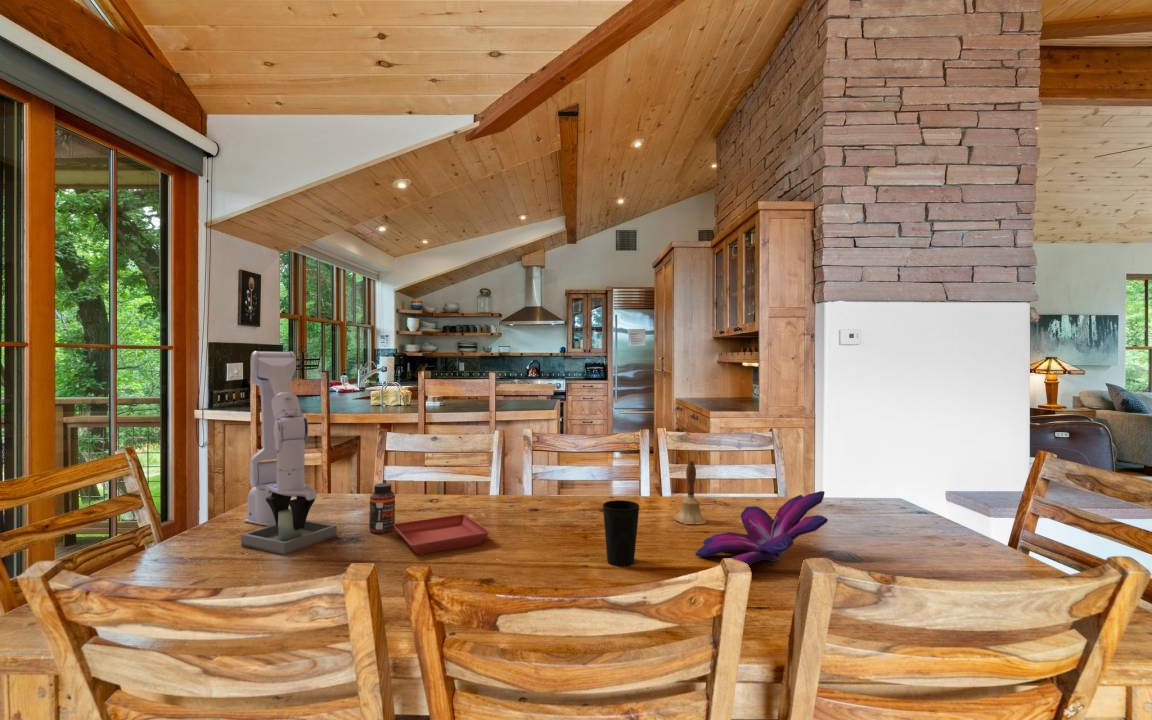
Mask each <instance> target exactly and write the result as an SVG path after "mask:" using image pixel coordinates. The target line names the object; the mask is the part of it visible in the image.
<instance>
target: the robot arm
mask: <svg viewBox="0 0 1152 720" xmlns="http://www.w3.org/2000/svg"><path fill="white" fill-rule="evenodd" d="M249 361H250V367H249V368H250V380H251V384H253V385H255V386H258V388H259V393H260V406H261V407H260V409H261V410H260V412H261V443H262V444H261V447H262V448H261V449H260V450H259V451H258V452H256V453H255V454H253V455H252V456H251V458H250V459H249V461H250V462H249V464H250V466H249V475H248V476H249V483H250V486H251V487H252V488H251V489H250V490H249V492H248V494H247V515H246V516H247V518H245V519H244V522H247V523H250V524H256V525H260V526H261V525H262V526H265V527H268V526H271V525H275V524H276V525H277V527H278V512H279V511H281V510H285V509H291V510H292V515H293V526H294V530H299V529H302V528H304V525H305V522H306V520H307V517H308V514H309V512H310V509H311V507H312V505H313V504H314V502H316V499H317V496H318V494H317V491H318V490H317V489H313V488H310V487H309V486H308V484H306V483H305V466H306V465H305V462H306V461H305V460H306V459H305V454H306V452H305V446H306V445H305V443H306V441H307V439H308V437H309V422H308V418H307V416H306V415H305V413H302V410H301V407H300V403H299V399H298V396H297V395H296V394H295V393H293V392H292V389H291V388H292V387H291V381H292V379H293V377H294V374H295V372H296V369H297V357H296V354H295V352H293V351H257V350H254V351H253V352H252V353H251V355H250V360H249ZM266 460H267V461H266ZM268 460H269V461H268ZM292 498H294V499H292Z"/></svg>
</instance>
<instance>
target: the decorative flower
mask: <svg viewBox="0 0 1152 720" xmlns="http://www.w3.org/2000/svg"><path fill="white" fill-rule="evenodd" d="M825 493H826V492H825V491H823V490H819V491H815V492H812V493H808V494H807V495H804V496H803V495H802V494H799V495H797V496H795V497H792V498H790V499H788V500H787V501H785V503H783V505H782V506H780V507H779V508H778V510H777V512H776V513H775V516H774V518H772V516H770V514H769V513H768V512H767V511H765V510H764V509H763V508H761V507H759V506H755V505H754V506H746V507H745V508H744V510H743V511H742V512H741V513H740V517H741V523H742V524H743V527H744V529H745V532H746V534H744V533H738V532H732V531H731V532H730V531H729V532H722V533H717V534H714V535H712V536H709V537H707V538H705V539H704V540H703V541H702V543H703V544H704V545H703V546H702V547H700V548H699V549H697V550H696V552H695V556H696V557H703V558H705V557H706V558H708V557H711V556H715V555H717V554H721V553H727V552H729V553H730V552H732V553H733V552H735V553H738V554H737V555H734V556H731V557H730V558H734V559H737V560H740V561H743V562H745V563H747V564H748V565H749V567H750V566H751V565H752V564H754V563H757V562H760V561H761V560H770V561H769V562H778V561H779V558H780V559H781V558H782V557H783V556H784V553H785V552H786V551H787V550H788V549H789V548H791V546H793V545H794V540H796V538H798V537H799V536H802V535H805V534H808V533H813V532H816V531H817V530H818V529H820V528H821V527H823V526H824V525H825V524H826V523H827V522H828V518H827V517H825V516H823V515H819V514H816V515H811V516H806V517H805V515H806V514H807V513H808V512H809V511H811V510H812V509H813V508H815V507H817V506H818V505H820V504H821V503H822V502H823V499H824V496H825ZM777 560H778V561H777Z"/></svg>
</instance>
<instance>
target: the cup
mask: <svg viewBox="0 0 1152 720" xmlns="http://www.w3.org/2000/svg"><path fill="white" fill-rule="evenodd" d="M602 511H603V523H604V525H603V526H604V535H605V547H606V559H607V564H608V565H610V564H611V566H613V567H622V568H623V567H624V566H626V567H630V566H633V564H634V563H635V554H636V545H637V544H636V543H637V535H638V533H637V532H638V524H639V514H640V513H639V511H640V504H639V503H637V502H634V501H632V500H625V499H624V500H622V499H620V500H618V499H615V500H609V501H605V502H604V503H603V504H602Z"/></svg>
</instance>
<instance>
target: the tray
mask: <svg viewBox="0 0 1152 720" xmlns="http://www.w3.org/2000/svg"><path fill="white" fill-rule="evenodd" d="M337 531H338V526H337V524H336V525H335V524H328V523H323V522H318V521H313V520H312V521H311V520H308V519H306V522H305V525H304V528H302V536H301V537H298V538H295V539H292V540H285V541H284V540H279V539H278V527H277V525H276V524H274V525H270V526H265V527H262V528H258V529H255V530H251V531H248V532H245V533H242V534H240V546H241V545H242V547H245V546H246V547H245V548H250V547H251V548H250V549H255V550H260V551H265V552H270V553H275V554H278V555H284V556H285V555H288V554H291V553H293V552H296V551H299V550H302V549H304V548H307V547H310V546H313V545H316V544H319V543H321V542H324V541H327V540H329V539H333V538H336V537H337V536H338V532H337Z"/></svg>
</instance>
